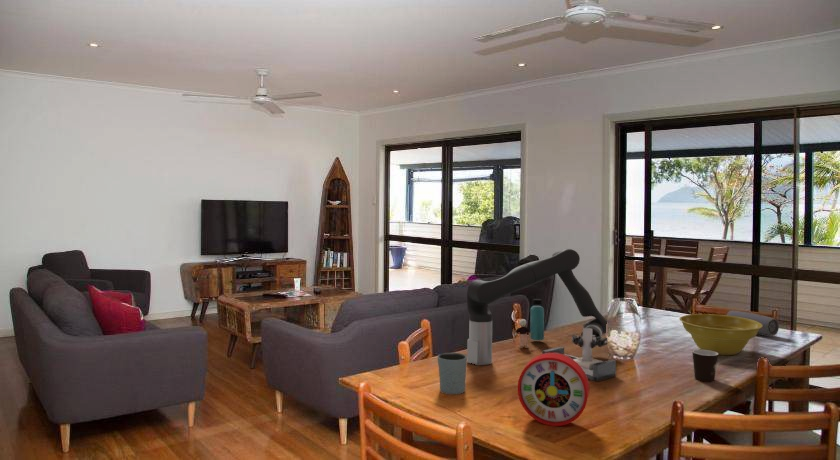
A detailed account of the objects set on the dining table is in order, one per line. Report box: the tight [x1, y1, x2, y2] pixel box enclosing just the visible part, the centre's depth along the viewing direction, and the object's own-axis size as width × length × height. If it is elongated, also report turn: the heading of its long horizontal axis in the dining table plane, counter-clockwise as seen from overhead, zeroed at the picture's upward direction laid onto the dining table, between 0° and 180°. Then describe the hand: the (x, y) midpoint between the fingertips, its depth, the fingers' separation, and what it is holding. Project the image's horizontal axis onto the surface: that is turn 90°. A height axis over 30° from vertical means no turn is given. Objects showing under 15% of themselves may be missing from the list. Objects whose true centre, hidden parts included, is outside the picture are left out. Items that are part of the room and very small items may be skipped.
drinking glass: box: [437, 352, 468, 395], centre depth 201 cm, size 10×10×12 cm
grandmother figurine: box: [514, 318, 531, 349], centre depth 261 cm, size 8×4×13 cm, turn 108°
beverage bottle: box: [529, 298, 545, 341], centre depth 272 cm, size 6×7×20 cm
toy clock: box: [517, 353, 590, 427], centre depth 172 cm, size 20×6×20 cm, turn 69°
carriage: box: [573, 328, 603, 370], centre depth 222 cm, size 8×8×15 cm
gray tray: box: [541, 346, 617, 382], centre depth 225 cm, size 11×26×6 cm, turn 37°
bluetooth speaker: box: [726, 310, 780, 336], centre depth 291 cm, size 23×9×10 cm, turn 25°
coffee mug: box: [691, 349, 719, 383], centre depth 215 cm, size 12×9×10 cm
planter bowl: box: [679, 313, 763, 356], centre depth 255 cm, size 32×32×13 cm
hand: (586, 345), depth 219 cm, fingers closed on carriage, 3 cm apart
